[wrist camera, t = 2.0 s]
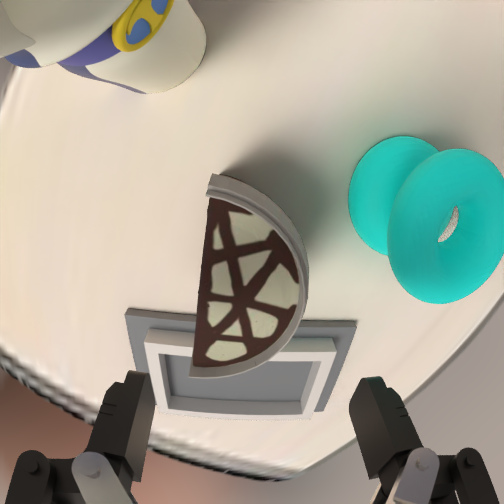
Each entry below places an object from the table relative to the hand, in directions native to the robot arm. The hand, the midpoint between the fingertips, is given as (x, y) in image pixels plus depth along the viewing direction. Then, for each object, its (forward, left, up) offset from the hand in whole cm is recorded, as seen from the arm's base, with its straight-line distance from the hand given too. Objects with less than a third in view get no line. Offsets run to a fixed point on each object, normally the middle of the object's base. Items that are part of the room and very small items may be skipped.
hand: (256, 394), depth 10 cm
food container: (0, 0, -15) cm, 15 cm away
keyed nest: (0, +15, -15) cm, 21 cm away
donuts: (-12, -5, -16) cm, 20 cm away
